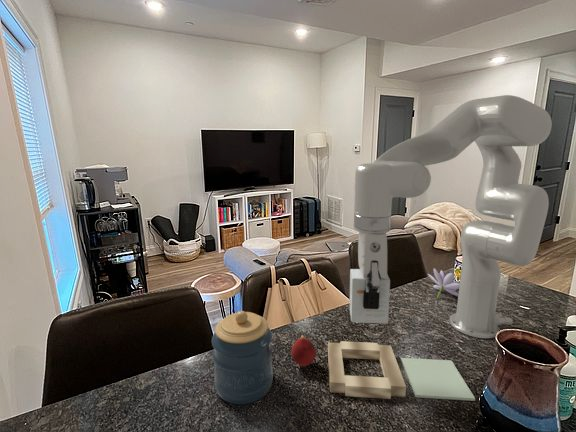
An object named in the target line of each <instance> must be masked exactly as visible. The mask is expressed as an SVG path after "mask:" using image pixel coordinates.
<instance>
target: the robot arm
mask: <svg viewBox="0 0 576 432" xmlns="http://www.w3.org/2000/svg"><path fill="white" fill-rule="evenodd" d="M552 123H553V122H552V118H551V116H550V114H549V113H548V111H547V110H546V109H544V108H543V107H541V106H539V105H537V104H535V103H533V102H531V101H529V100H527V99H525V98H522V97H520V96H515V95H510V94H509V95H508V94H505V95H497V96H491V97H490V96H489V97H483V98H475V99H471V100H468V101H466V102H464V103H462V104H461V105H458V107H456V109H454V110H453V111H452V112H450V113H448V115H447V116H445V117H444V118H443V119H442V120H441V121H439V122H438V123H436V125H434V126H433V127H432V128H430V129H429V130H426V131H424V132H422V133H421V132H420V133H419V134H417V135H415V136H413V137H411V138H409V139H406V140H404V141H402V142H399V143H398V144H395V145H394V146H393V147H390V148H389V149H388V150H386V151H384V153H382V154H381V155H379V156H378V158H376V159H375V160H374V161H373V162H372V163H362V164H359V165H357V167H356V169H355V176H354V178H355V179H354V181H355V182H354V205H353V207H354V209H353V211H354V212H353V213H354V214H353V230H354V231H355V232H358V243H357V245H358V246H357V254H358V255H357V258H358V259H357V260H358V261H357V263H358V267H359V269H360V271H361V273H362V276H363V277H364V278H365V290H364V298H363V307H364V309H378V308H379V295H380V291H379V274H380V276H381V278H382V279H384V280H385V279H386V278H387V275H388V235H387V233H389V232H390V231H391V221H392V202H393V199H394V198H406V199H410V198H411V199H412V198H417V197H419V196H421V195H423V194H424V193H425V192H426V191H427V190H428V189H429V188H430V185H431V182H432V176H431V173H430V171H429V169H428V168H427V167H426V166H430V165H436V164H437V165H438V164H441V163H445V162H448V161H450V160H453V159H456V158H457V157H458V156H459V155H460V154H461V153H463V152H464V151H465V149H467V148H468V147H469V146H470V145H472V143H475V144H476V145H477V147H478V149H479V151H480V153H481V156H482V163H483V164H482V171H481V175H480V181H479V185H478V189H477V192H476V197H475V209H476V211H477V212H478V213H479V214H481V215H484V216H487V217H490V218H496V219H500V220H501V219H502V220H507V221H513V222H514V225H508V224H503V223H501V222H500V223H499V222H493V221H488V220H482V219H481V220H480V219H479V220H473V221H472V220H471V221H469V222H467V223H466V224H465V225H464V226H463V228H462V230H461V234H460V244H461V255H462V256H461V257H462V258H461V267H460V268H461V269H460V278H459V282H460V283H459V284H460V285H459V289H458V293H459V294H458V296H457V305H456V312H454V313H451V315H450V316H449V323H450V325H451V326H452V327H453V328H454V329H455V330H456V331H458V332H460V333H462V334H463V335H464V334H465V335H466V336H470V337H473V338H477V339H478V338H479V339H493V338H496V337H495V335H496V333H497V332H498V331H499V330H500V327H499V326H501V325H509V326H510V325H513V324H514V321H513V318H511V317H506V316H505V317H503V314H502V313H496V310H497V303H498V297H499V291H500V290H499V289H500V284H501V283H500V282H501V268H500V265H499V262H502V263H507V264H509V265H513V266H519V267H523V266H524V267H525V266H528V265H530V264H531V263H532V262H533V260H534V259H535V257H536V255H537V252H538V250H539V246H540V243H541V238H542V234H543V230H544V227H545V223H546V219H547V217H548V216H547V215H548V211H549V205H550V202H549V201H550V200H549V196H548V193H547V191H546V190H545V189H544V188H542V187H540V186H538V185H535V184H534V185H533V184H527V183H526V184H525V183H519V179H520V174H521V170H522V160H521V158H520V156H519V155H518V153H517V151H516V150H515V149H514V148H513V147H535V146H538V145H540V144H542V143H543V142H545V141H547V139H548V137H549V136H550V134H551V131H552V126H553V124H552ZM368 274H371V277H368ZM368 280H372V281H371V283H370V284H369V282H368ZM499 332H500V331H499Z"/></svg>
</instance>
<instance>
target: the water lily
mask: <svg viewBox="0 0 576 432" xmlns="http://www.w3.org/2000/svg"><path fill="white" fill-rule="evenodd" d="M433 274H434V276H432V275H431V274H429V273H427V276H428V277H429V278H430V279H431V280H432V281H433V282H434V283H435V284H434V285H433V289H435V290H439V292H438V293H437V296H436V299H437V300H439V298H440V295H441V293H442V291H443V289H444V290H445V291H446V292H448V293H450V294H451V295H453V296H454V297H458V294H459V292H458V291H457V290H459V285H460V280H459V281H457V280H455V281H453V280H454V277H455V274H454V273H452V272H449V273H447V274H446V275H445V273H444V271H443V270H442V269H441V270H440V272H438V270H437V269H436V268H434V267H433Z"/></svg>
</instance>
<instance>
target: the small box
mask: <svg viewBox="0 0 576 432" xmlns="http://www.w3.org/2000/svg"><path fill="white" fill-rule="evenodd" d="M368 277H371V274H368ZM371 281H372V280H368V282H369V284H370V283H371ZM364 290H365V278H364V277H363V276H362V273H361V271H360V268H350V270H349V315H350V320H351V323H357V324H359V323H360V324H361V323H362V324H389V315H390V313H389V312H390V309H389V308H390V293H391V292H390V291H391V279H390V277H389V275H388V274H387V278H386V279H385V280H384V279H382V278H381V276H380V274H379V291H380V295H379V308H378V309H364V307H363V298H364Z"/></svg>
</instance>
